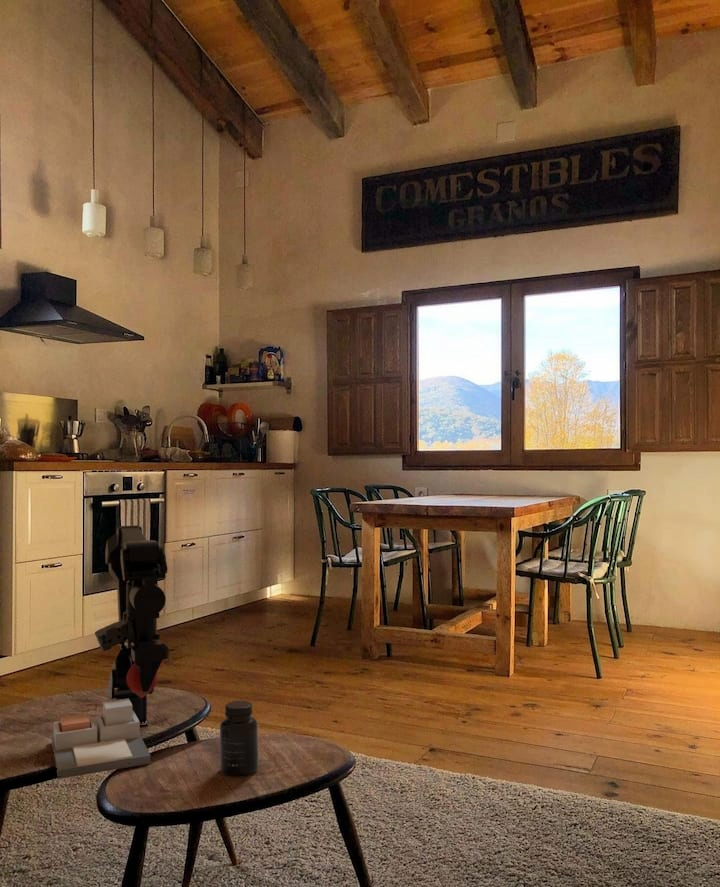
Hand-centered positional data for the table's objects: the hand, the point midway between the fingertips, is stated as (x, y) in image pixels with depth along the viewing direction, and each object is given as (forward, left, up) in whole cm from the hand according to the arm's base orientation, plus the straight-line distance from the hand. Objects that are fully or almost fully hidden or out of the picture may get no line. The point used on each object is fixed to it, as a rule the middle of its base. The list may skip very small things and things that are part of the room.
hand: (141, 687), depth 152 cm
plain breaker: (+4, -7, -8) cm, 11 cm away
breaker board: (+8, -2, -12) cm, 14 cm away
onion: (0, 0, -2) cm, 2 cm away
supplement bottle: (-14, +17, -12) cm, 26 cm away
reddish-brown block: (+12, -7, -10) cm, 17 cm away
